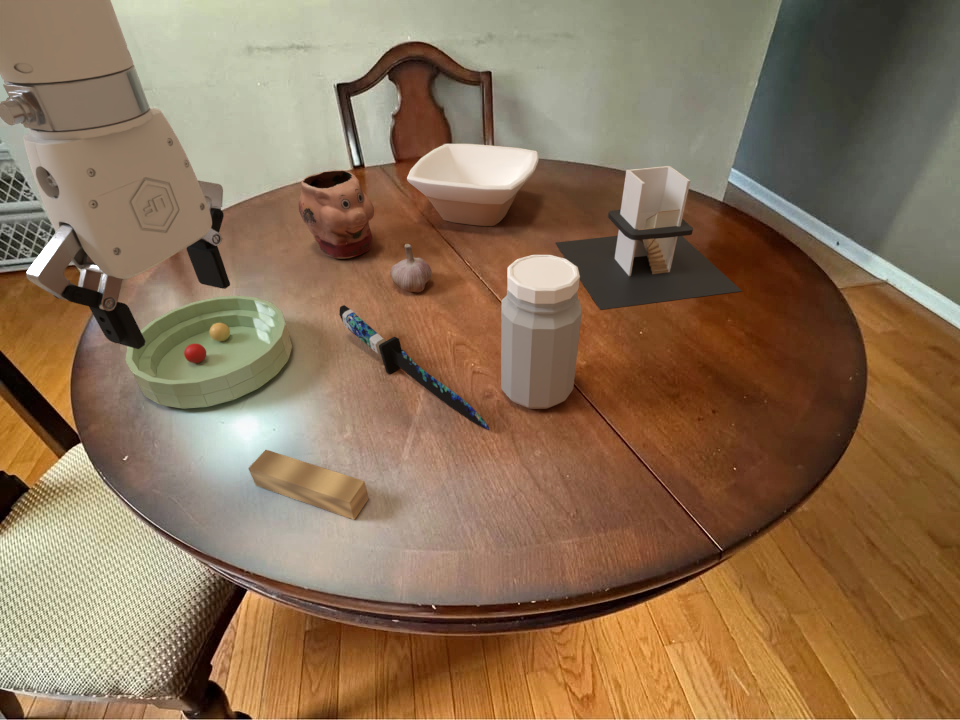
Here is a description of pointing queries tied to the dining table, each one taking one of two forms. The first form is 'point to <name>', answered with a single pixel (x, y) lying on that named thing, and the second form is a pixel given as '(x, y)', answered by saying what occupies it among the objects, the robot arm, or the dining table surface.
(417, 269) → the garlic bulb
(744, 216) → the dining table surface
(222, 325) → the chickpea
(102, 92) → the robot arm
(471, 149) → the bowl
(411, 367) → the knife
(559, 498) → the dining table surface
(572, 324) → the jar
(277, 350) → the shallow round dish
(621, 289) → the model building
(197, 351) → the tomato
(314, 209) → the decorative planter
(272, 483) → the stick
